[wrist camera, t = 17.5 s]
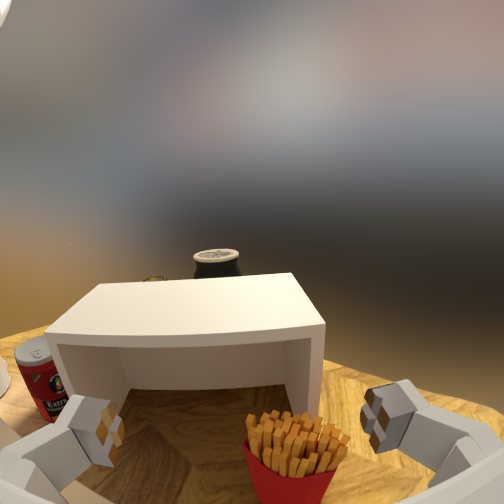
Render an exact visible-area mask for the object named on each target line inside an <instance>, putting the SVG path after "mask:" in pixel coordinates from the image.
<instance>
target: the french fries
mask: <svg viewBox="0 0 504 504" xmlns="http://www.w3.org/2000/svg"><path fill="white" fill-rule="evenodd" d="M279 414H280V412H278V411H275V410H273V411H272V413H271V415H270V414H267V413H265V412H264V414H263V415H262V417H261V419H260V424H258V426H257V424H256V418H255V415H251V414H248V416H247V419H246V425H247V430H248V438H247V439H246V440H245V442H244V443H243V444H242V445H243V449H244V453H245V456H246V460H247V464H248V468H249V471H250V475H251V478H252V482H253V485H254V489H255V492H256V495H257V497H258V499H259V500H260V502H261V504H319V502H320V500H321V499H322V497H323V495H324V493H325V491H326V489H327V487H328V485H329V483H330V481H331V479H332V477H333V475H334V473H335V471H336V469H337V467H338V465H339V463H340V462H341V461H342V460H343V459H344V458H345V457H346V455H347V450H348V447H345V446H346V444H347V443H348V441H349V440H350V438H351V437H349V436H347V435H345V434H344V435H343V437H342V438H341V440H340V442H339V440H338V438H339V435H340V432H341V430H340V429H336V428H334V426H335V424H330V423H327V425H325V426H324V428H323V429H322V431H321V428H322V425H321V422H322V419H323V418H322V417H319V416H317V415H316V416H315V418H314V419H313V420H310V416H311V415H310V414H308V413H305V412H304V413H303V415H302V416H301V415H298V414H295V415H294V416H293V417H291V413H290V412H287V411H285V412H284V413H283V415H282V417H281V421H280V420H279ZM320 431H321V434H320ZM319 434H320V439H319V441H317V439H318V437H319ZM331 434H332V435H331ZM330 437H331V438H330ZM338 442H339V443H338Z"/></svg>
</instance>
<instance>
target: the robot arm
mask: <svg viewBox="0 0 504 504" xmlns="http://www.w3.org/2000/svg"><path fill="white" fill-rule="evenodd" d="M10 4H11V0H0V26H1V25H2V23H3V21H4V19H5V17H6V15H7V13H8V10H9V7H10ZM7 369H8V364H7V362H6V360H2V358H1V356H0V397H1V396H2V395H3V394H4V393H5V392H6V390H7V389H8V387H9V385H10V382H11V377H10V374H9V373H8V370H7ZM364 398H365V400H366V403H365V404H364V405H363V406H362V408H361V412H360V422H361V426H362V428H363V430H364V432H365V433H367V434H369V435H371V436H370V439H369V442H370V444H371V446H372V448H373V450H374V452H375V454H379V453H383V452H386V451H390V450H393V449H397V448H398V450H400V451H401V452H403V453H405V454H406V455H408V456H409V457H411V458H412V459H414V460H416V461H417V462H419V463H421V464H422V465H424V466H426V467H427V468H429V469H431V470H432V471H434V472H436V473H435V475H434V476H433V477H432V479H431V480H430V481H429V483H428V485H427V486H428V488H429V489H427V490H425V491H423V492H420V493H418V494H416V495H413V496H411V497H408V498H406V499H403V500H401V501H398V502H396V503H393V504H504V443H503V442H502V441H501V439H500V438H499V437H498V436H497V435H496V434H495V433H494V432H493V430H492V429H491V428H490V427H489V426H488V425H487V424H486V423H483V422H480V421H477V420H474V419H471V418H468V417H465V416H462V415H460V414H457V413H454V412H451V411H449V410H446V409H443V408H441V407H438V406H436V405H433V406H430V405H429V403H428V402H427V401H426V400H425V398H424V397H423V396H422V395H421V394H420V392H419V391H418V390H417V389H416V387H415V386H414V385H413V384H412V383H411V381H409V380H407V379H405V380H402V381H398V382H394V383H390V384H386V385H382V386H378V387H374V388H369V389H368V390H367V391H366V393H365V396H364ZM117 410H118V408H117V406H116V404H115V402H114V401H112V400H105V399H99V398H93V397H87V396H86V397H85V396H80V395H75V394H74V395H72V396H71V397H70V399H69V400H68V402H67V403H66V405H65V407H64V408H63V410H62V412H61V413H60V415H59V417H58V418H57V420H56V422H55V423H54V424H52V423H50V424H48V425H46V426H44V427H43V428H41V429H39V430H37V431H35V432H33V433H31V434H29V435H27V436H25V437H23V438H21V439H19V440H18V441H15V442H13V443H11V444H9V445H7V446H5V447H3V448H2V450H1V451H0V504H69V503H68V501H67V500H66V499H65V498H64V497H63V496H62V495H61V494H60V493H59V492H60V491H62V489H64V488H65V487H66V486H68V485H69V484H70V483H71V482H72V481H74V480H75V479H76V478H77V477H78V476H80V475H81V474H82V473H83V472H84V471H86V470H87V469H88V468H89V467H90V466H91V465H92V464H97V465H103V466H108V467H114V468H115V465H116V462H117V459H118V456H119V452H118V450H117V447H119V446H120V445H121V444H123V440H124V434H125V428H124V423H123V421H122V418H120V417H119V416H118V415H117V414H116V413H117Z"/></svg>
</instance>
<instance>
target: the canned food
mask: <svg viewBox="0 0 504 504" xmlns="http://www.w3.org/2000/svg"><path fill="white" fill-rule="evenodd" d="M14 356H15V360H16V362H17V365H18V368H19V370H20V372H21V374H22V377H23V379H24V381H25V383H26V385H27V388H28V390H29V392H30V394H31V396H32V398H33V400H34V402H35V404H36V406H37V407H38V409H39V411H40V413H41V415H42V416H43V417H44V418H45V419H46V420H47V421H49V422H51V423H55V422H56V420H57V418H58V417H59V415H60V413H61V412H62V410H63V408H64V407H65V405H66V403H67V402H68V400H69V397H68V395H67V392H66V390H65V388H64V385H63V383H62V381H61V378H60V376H59V373H58V371H57V368H56V366H55V363H54V360H53V358H52V355H51V352H50V349H49V347H48V344H47V341H46V338H45V336H38V337H34V338H31V339H28V340H26V341H24V342H23V343H21V344H20V345H19V346H18V347H17V348H16V349H15V352H14Z"/></svg>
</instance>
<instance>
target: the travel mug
mask: <svg viewBox="0 0 504 504" xmlns="http://www.w3.org/2000/svg"><path fill="white" fill-rule="evenodd" d="M238 255H239V253H238V252H237V251H235V250H230V249H215V250H207V251H202V252H199V253H197V254H195V255H194V257H193V258H194V259H195V261H196V265H197V268H196V271H195V273H194V279H208V278H224V277H239V276H242V273H241V270H240V268H239V267H238V265H237V257H238Z"/></svg>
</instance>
